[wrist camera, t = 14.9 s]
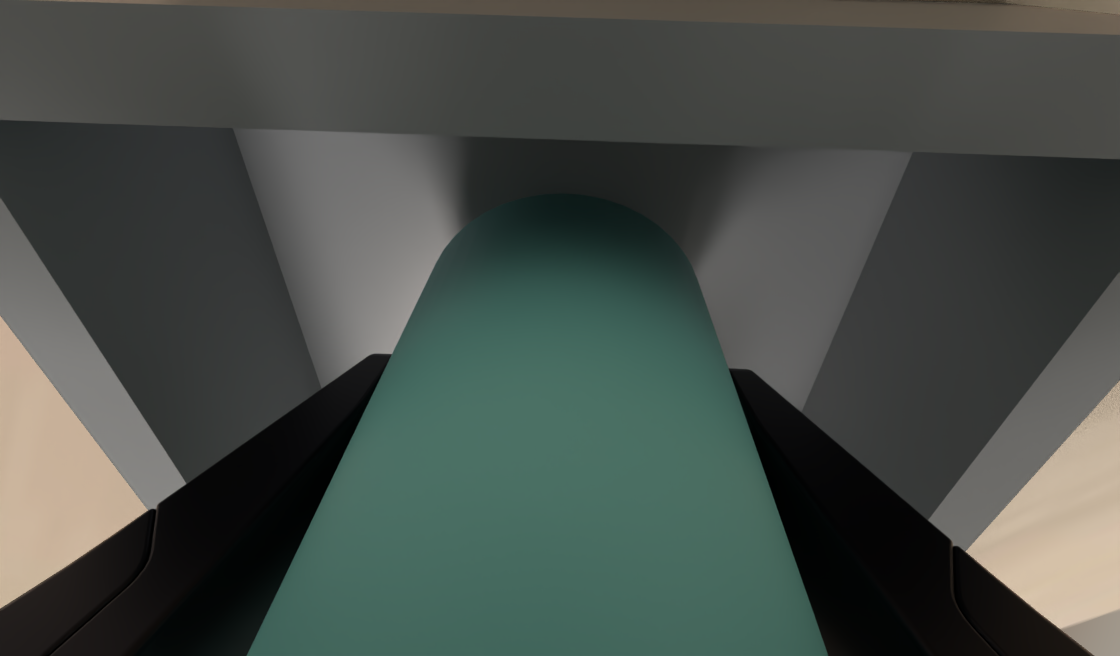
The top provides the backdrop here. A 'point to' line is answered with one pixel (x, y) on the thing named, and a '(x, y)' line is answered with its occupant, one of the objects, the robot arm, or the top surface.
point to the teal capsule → (549, 466)
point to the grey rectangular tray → (572, 168)
